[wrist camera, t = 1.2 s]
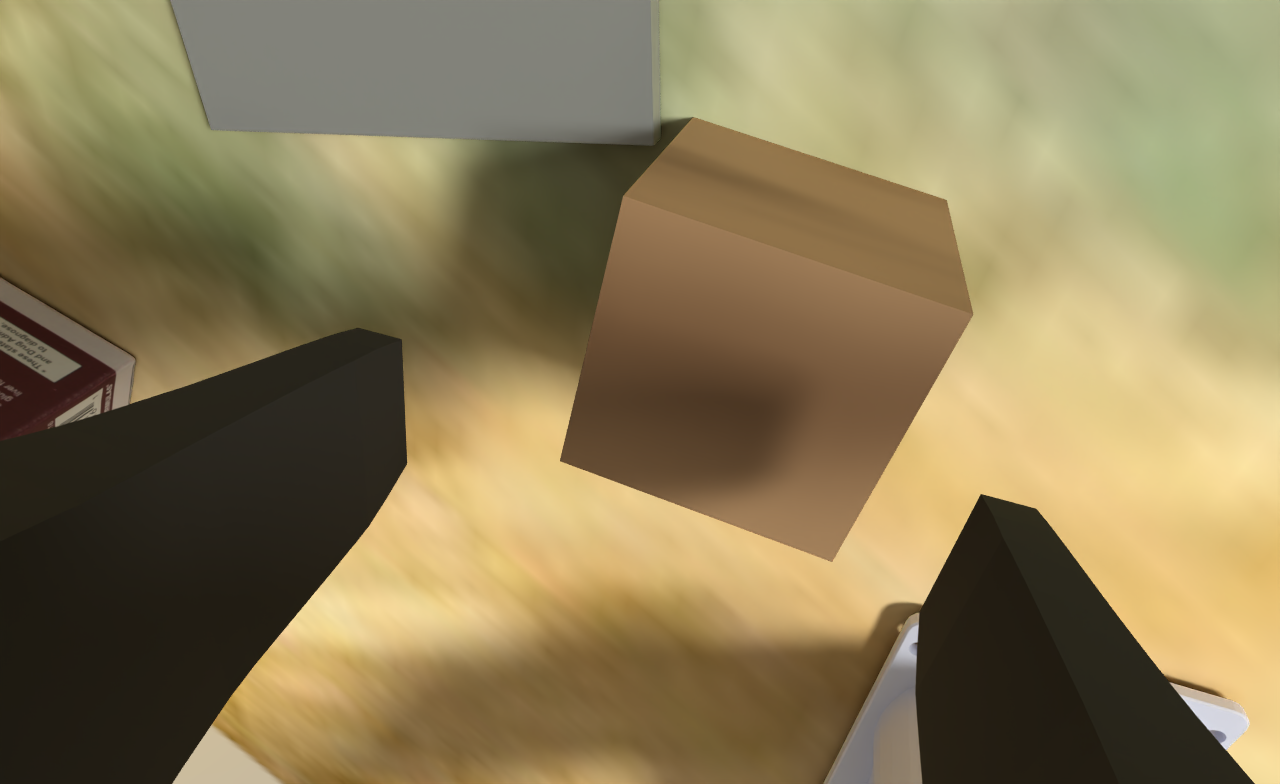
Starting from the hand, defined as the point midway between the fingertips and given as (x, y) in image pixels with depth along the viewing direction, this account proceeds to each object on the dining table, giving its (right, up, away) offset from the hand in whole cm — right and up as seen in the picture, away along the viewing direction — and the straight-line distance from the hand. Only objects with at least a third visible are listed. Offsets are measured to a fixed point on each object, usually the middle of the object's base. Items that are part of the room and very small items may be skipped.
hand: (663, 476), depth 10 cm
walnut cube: (+2, +4, +6) cm, 8 cm away
